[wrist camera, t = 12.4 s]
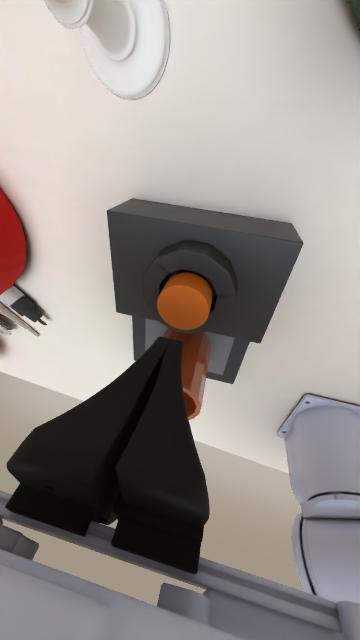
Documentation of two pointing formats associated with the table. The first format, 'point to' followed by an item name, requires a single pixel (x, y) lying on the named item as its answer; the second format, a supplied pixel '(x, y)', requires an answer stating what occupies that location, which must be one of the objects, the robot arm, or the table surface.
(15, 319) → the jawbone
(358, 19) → the coffee jar
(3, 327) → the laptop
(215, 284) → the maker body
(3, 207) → the ceramic cup
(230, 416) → the table surface
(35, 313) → the marker
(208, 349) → the clay cup
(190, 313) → the button
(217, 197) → the table surface
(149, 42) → the chess piece
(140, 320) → the tray
